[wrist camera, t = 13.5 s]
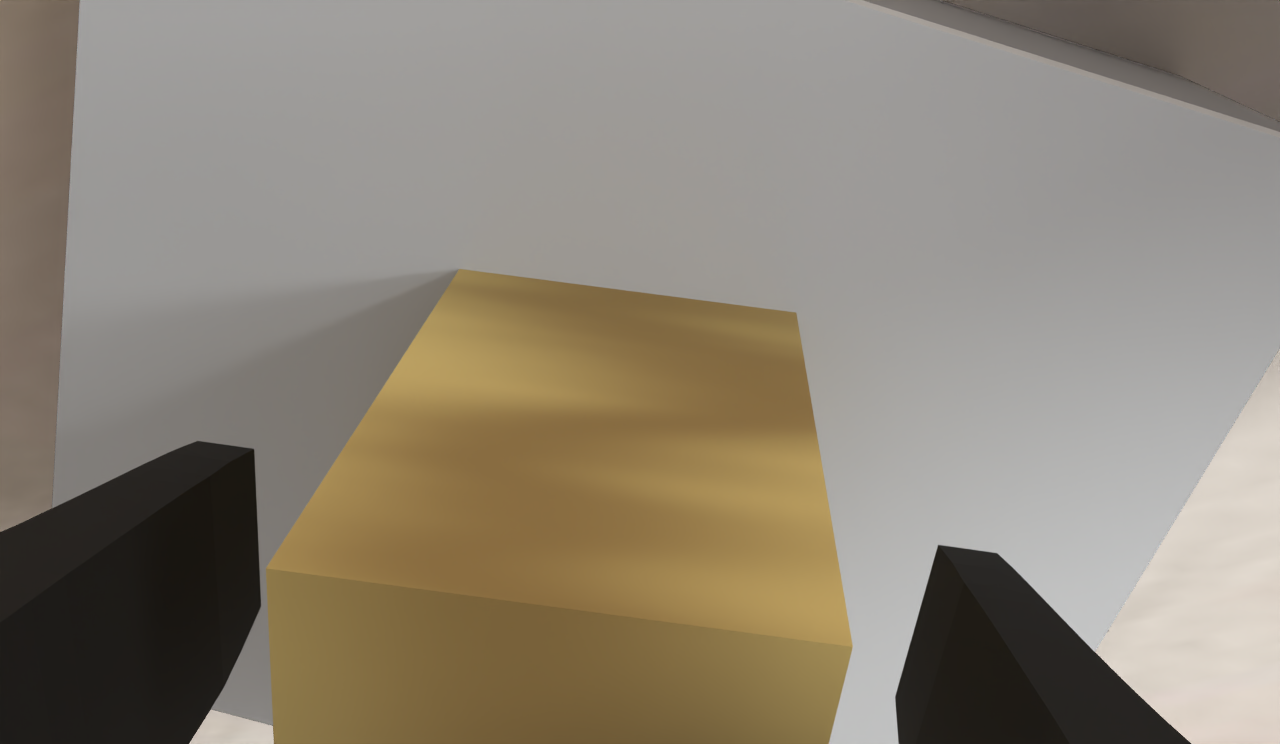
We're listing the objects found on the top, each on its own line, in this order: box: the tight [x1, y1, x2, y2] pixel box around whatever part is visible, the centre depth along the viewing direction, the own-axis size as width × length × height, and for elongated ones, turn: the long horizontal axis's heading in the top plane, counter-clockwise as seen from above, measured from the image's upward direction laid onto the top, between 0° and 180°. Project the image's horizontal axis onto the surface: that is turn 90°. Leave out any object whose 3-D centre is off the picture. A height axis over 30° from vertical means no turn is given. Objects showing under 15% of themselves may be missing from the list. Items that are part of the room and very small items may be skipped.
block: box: [266, 269, 853, 744], centre depth 11 cm, size 4×4×6 cm
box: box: [864, 0, 1280, 132], centre depth 17 cm, size 14×12×5 cm
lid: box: [52, 0, 1280, 744], centre depth 14 cm, size 14×12×1 cm
